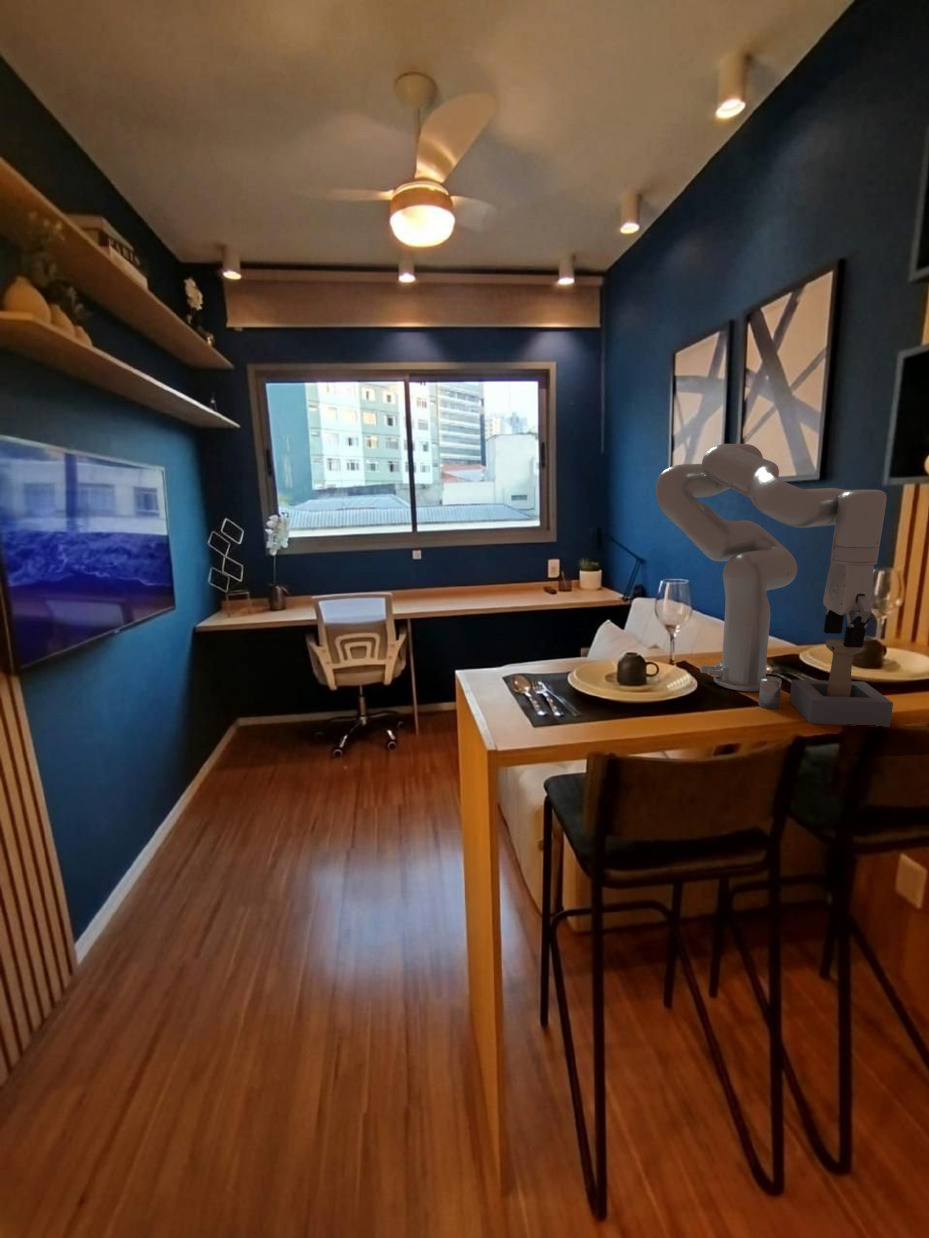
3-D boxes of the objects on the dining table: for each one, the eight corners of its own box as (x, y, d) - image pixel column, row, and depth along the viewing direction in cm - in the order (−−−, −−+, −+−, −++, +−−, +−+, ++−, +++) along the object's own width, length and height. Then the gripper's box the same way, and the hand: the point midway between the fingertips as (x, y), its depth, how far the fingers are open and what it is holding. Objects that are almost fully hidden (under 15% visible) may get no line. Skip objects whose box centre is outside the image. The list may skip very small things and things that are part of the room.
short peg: (761, 708, 120) (763, 682, 119) (756, 701, 124) (758, 675, 123) (781, 709, 120) (784, 682, 118) (776, 702, 123) (778, 676, 122)
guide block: (809, 723, 112) (812, 699, 111) (789, 701, 124) (791, 679, 123) (889, 726, 109) (893, 702, 108) (861, 703, 121) (864, 681, 119)
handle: (834, 706, 120) (841, 638, 117) (859, 717, 114) (868, 646, 110) (814, 708, 119) (820, 640, 116) (838, 720, 113) (846, 648, 110)
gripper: (815, 549, 118) (806, 628, 122) (852, 561, 102) (839, 652, 106) (856, 549, 116) (844, 628, 121) (899, 562, 100) (884, 653, 104)
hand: (842, 639), depth 113 cm, fingers open, 9 cm apart
